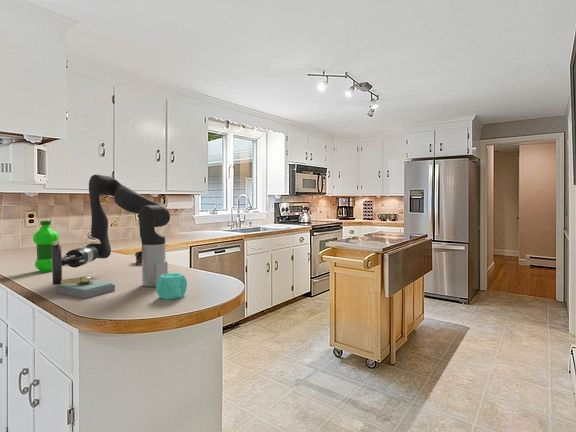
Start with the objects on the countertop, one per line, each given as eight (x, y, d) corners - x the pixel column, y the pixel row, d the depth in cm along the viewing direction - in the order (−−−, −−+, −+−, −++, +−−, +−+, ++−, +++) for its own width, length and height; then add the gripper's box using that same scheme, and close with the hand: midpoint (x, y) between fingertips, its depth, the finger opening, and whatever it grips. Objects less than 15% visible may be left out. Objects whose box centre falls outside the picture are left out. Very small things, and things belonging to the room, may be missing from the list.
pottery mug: (157, 263, 196) (155, 251, 192) (145, 273, 189) (141, 261, 185) (142, 256, 201) (139, 245, 196) (129, 265, 194) (125, 254, 189)
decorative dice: (176, 300, 122) (176, 278, 122) (156, 299, 123) (155, 277, 123) (187, 294, 130) (186, 273, 130) (167, 293, 131) (167, 272, 131)
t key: (91, 280, 137) (90, 239, 136) (89, 283, 131) (88, 240, 130) (54, 283, 132) (52, 240, 131) (51, 287, 126) (49, 242, 125)
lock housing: (115, 290, 135) (114, 282, 135) (85, 298, 124) (84, 289, 124) (85, 285, 143) (85, 277, 143) (55, 292, 132) (55, 284, 132)
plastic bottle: (29, 272, 169) (27, 221, 168) (49, 268, 179) (48, 220, 178) (44, 273, 166) (42, 221, 165) (64, 269, 176) (63, 220, 175)
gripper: (63, 248, 147) (36, 255, 130) (95, 248, 148) (72, 254, 130) (63, 265, 147) (37, 274, 130) (95, 265, 148) (73, 274, 131)
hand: (55, 264), depth 130 cm, fingers closed
